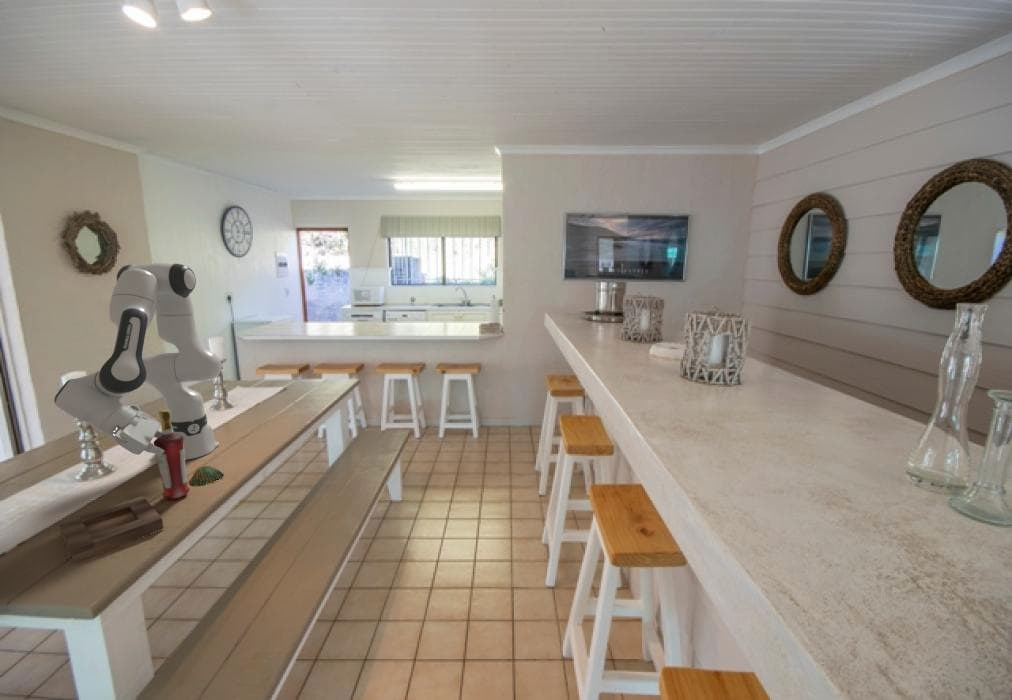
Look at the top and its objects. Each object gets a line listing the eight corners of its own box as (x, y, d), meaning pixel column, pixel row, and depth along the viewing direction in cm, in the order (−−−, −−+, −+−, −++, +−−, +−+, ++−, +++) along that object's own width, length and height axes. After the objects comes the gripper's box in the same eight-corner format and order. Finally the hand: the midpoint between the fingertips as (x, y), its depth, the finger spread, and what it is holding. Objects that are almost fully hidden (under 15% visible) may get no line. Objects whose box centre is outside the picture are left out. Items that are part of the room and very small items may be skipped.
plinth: (61, 534, 120) (59, 522, 119) (145, 506, 134) (143, 496, 133) (74, 563, 109) (71, 550, 108) (163, 529, 123) (161, 518, 122)
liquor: (159, 496, 140) (146, 411, 134) (187, 487, 145) (175, 405, 139) (165, 505, 135) (152, 417, 129) (194, 495, 140) (182, 411, 135)
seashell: (193, 477, 144) (184, 468, 150) (193, 489, 144) (184, 479, 151) (228, 469, 151) (218, 460, 158) (228, 480, 152) (218, 471, 158)
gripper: (118, 425, 121) (167, 451, 128) (136, 403, 139) (179, 428, 145) (99, 443, 120) (150, 469, 127) (120, 419, 138) (164, 443, 144)
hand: (165, 447), depth 136 cm, fingers open, 8 cm apart
